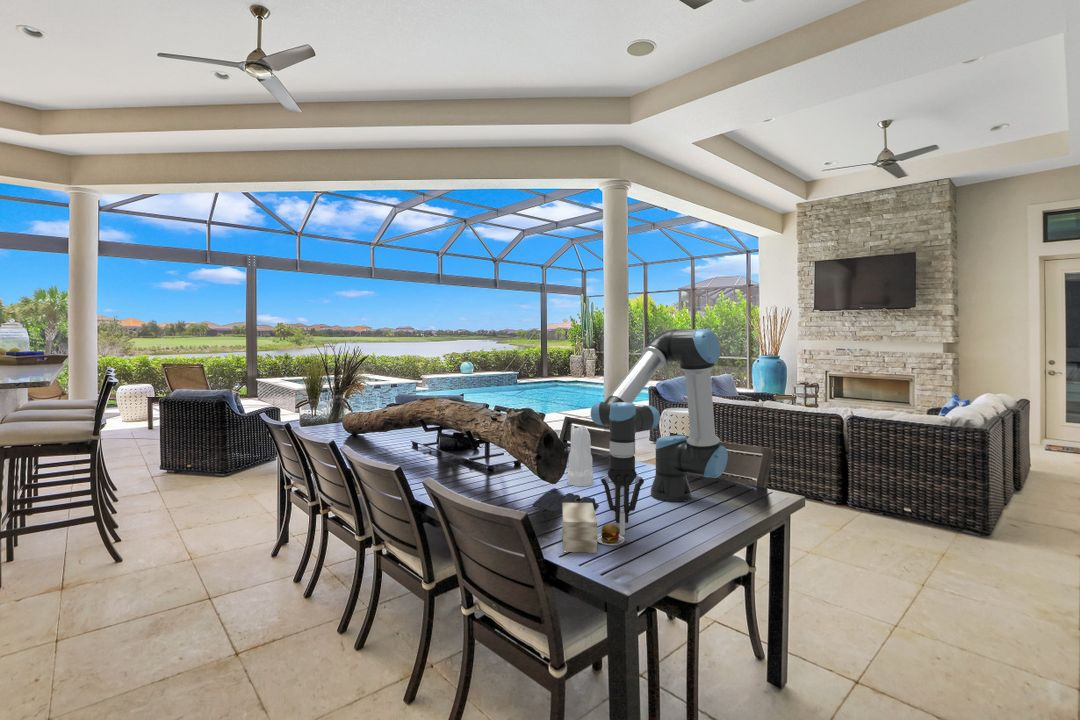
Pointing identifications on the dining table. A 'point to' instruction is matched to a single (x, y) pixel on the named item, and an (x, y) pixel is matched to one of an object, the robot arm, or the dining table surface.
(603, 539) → the hamburger
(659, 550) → the dining table surface
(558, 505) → the dark slate chunk
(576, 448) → the decorative vase
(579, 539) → the beige paper bag
